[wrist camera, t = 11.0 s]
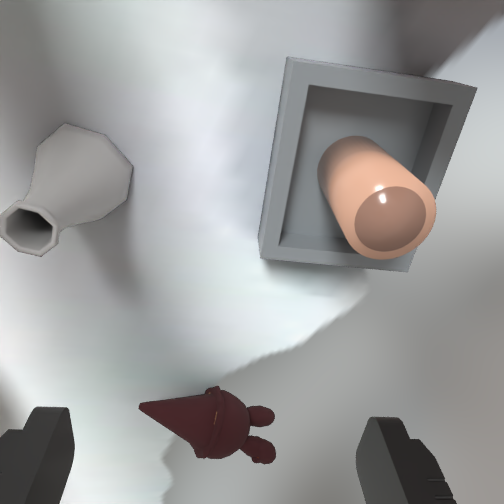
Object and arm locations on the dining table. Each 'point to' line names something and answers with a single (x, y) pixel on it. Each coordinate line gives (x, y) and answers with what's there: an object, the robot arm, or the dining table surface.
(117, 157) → the flask
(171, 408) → the icecream
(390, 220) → the terracotta cup
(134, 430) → the dining table surface
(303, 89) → the slate tray
